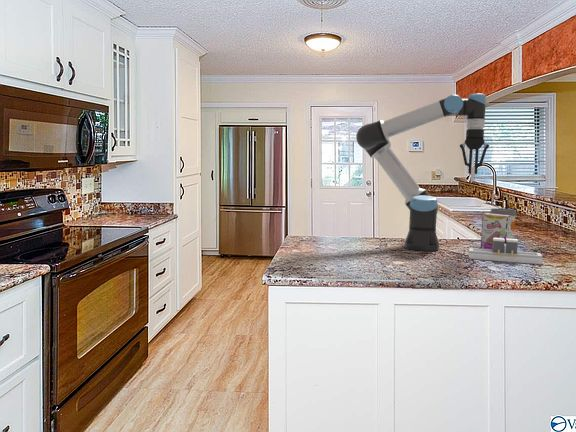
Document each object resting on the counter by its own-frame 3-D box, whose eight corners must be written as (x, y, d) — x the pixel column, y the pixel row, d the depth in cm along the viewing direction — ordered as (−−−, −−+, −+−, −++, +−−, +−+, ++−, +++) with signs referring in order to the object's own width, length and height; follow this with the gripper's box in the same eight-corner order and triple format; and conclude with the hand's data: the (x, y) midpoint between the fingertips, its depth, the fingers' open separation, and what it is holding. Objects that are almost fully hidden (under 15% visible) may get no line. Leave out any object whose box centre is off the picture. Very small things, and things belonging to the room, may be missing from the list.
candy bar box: (479, 250, 226) (482, 213, 224) (484, 248, 229) (486, 213, 227) (505, 253, 218) (507, 215, 216) (509, 252, 222) (512, 215, 220)
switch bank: (469, 258, 205) (469, 244, 204) (468, 254, 214) (469, 240, 213) (542, 264, 196) (543, 249, 195) (538, 259, 205) (540, 245, 205)
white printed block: (491, 239, 258) (493, 210, 257) (486, 235, 271) (488, 208, 269) (517, 240, 256) (519, 211, 255) (510, 236, 269) (512, 208, 267)
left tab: (492, 253, 204) (493, 238, 204) (492, 252, 208) (493, 237, 207) (503, 254, 203) (504, 239, 202) (502, 252, 207) (503, 238, 206)
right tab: (505, 254, 203) (506, 239, 202) (505, 253, 206) (506, 238, 206) (517, 255, 201) (518, 240, 201) (515, 253, 205) (517, 239, 204)
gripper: (460, 128, 226) (457, 181, 229) (491, 128, 222) (487, 182, 225) (460, 129, 233) (457, 180, 236) (490, 129, 229) (487, 181, 232)
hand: (472, 181), depth 230 cm, fingers closed
